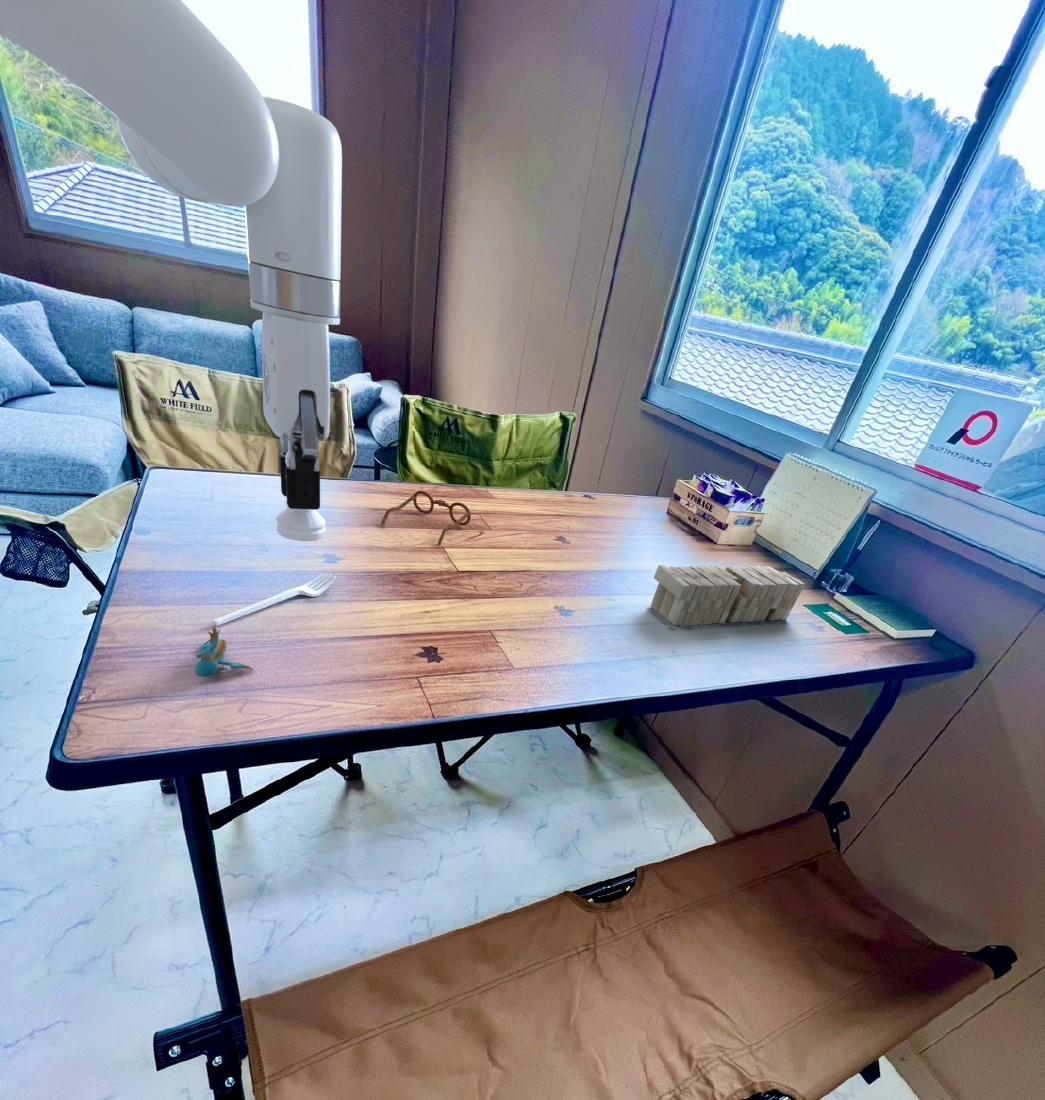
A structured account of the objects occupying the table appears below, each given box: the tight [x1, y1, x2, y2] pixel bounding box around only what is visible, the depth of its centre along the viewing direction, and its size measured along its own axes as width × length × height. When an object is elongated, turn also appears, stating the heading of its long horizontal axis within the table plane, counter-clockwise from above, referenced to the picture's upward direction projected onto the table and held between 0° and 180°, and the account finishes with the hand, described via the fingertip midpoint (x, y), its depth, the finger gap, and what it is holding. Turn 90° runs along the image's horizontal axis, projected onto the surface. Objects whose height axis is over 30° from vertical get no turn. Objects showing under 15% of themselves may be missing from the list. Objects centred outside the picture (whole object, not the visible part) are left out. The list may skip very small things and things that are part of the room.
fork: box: [212, 569, 337, 627], centre depth 81 cm, size 3×20×2 cm, turn 151°
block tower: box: [649, 564, 806, 627], centre depth 106 cm, size 8×8×29 cm
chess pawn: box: [275, 447, 326, 542], centre depth 62 cm, size 5×5×9 cm
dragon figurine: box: [194, 625, 254, 678], centre depth 67 cm, size 6×7×8 cm
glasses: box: [380, 490, 472, 546], centre depth 115 cm, size 13×13×5 cm
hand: (300, 500), depth 62 cm, fingers closed on chess pawn, 3 cm apart
